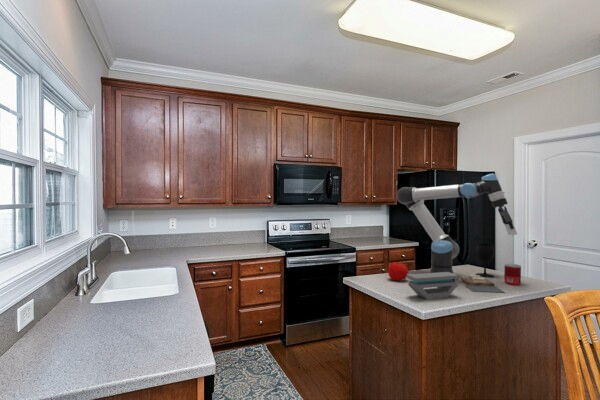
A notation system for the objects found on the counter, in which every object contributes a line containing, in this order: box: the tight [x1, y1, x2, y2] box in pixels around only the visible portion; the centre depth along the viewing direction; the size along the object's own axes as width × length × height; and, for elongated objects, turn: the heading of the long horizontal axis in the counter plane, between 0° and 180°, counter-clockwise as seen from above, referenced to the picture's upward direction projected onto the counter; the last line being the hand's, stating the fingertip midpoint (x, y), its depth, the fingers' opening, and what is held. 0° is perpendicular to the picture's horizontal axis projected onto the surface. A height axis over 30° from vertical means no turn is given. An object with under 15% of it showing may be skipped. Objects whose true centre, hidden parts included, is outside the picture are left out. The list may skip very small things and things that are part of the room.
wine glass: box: [475, 243, 496, 279], centre depth 207 cm, size 10×10×20 cm
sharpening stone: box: [406, 272, 460, 301], centre depth 163 cm, size 25×8×11 cm, turn 105°
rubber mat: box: [464, 284, 506, 294], centre depth 176 cm, size 16×11×1 cm
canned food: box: [504, 263, 522, 286], centre depth 188 cm, size 8×8×11 cm
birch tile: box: [467, 274, 487, 283], centre depth 187 cm, size 9×6×2 cm, turn 171°
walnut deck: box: [460, 277, 495, 286], centre depth 187 cm, size 14×10×2 cm
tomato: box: [388, 261, 409, 282], centre depth 195 cm, size 12×12×11 cm
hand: (512, 234), depth 183 cm, fingers open, 13 cm apart
